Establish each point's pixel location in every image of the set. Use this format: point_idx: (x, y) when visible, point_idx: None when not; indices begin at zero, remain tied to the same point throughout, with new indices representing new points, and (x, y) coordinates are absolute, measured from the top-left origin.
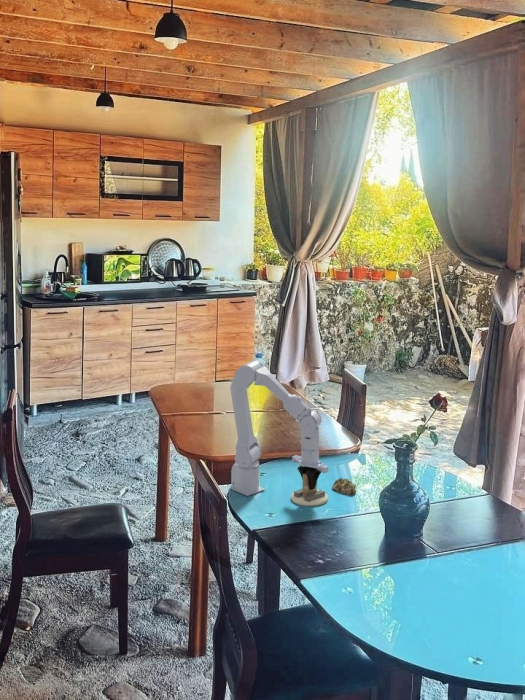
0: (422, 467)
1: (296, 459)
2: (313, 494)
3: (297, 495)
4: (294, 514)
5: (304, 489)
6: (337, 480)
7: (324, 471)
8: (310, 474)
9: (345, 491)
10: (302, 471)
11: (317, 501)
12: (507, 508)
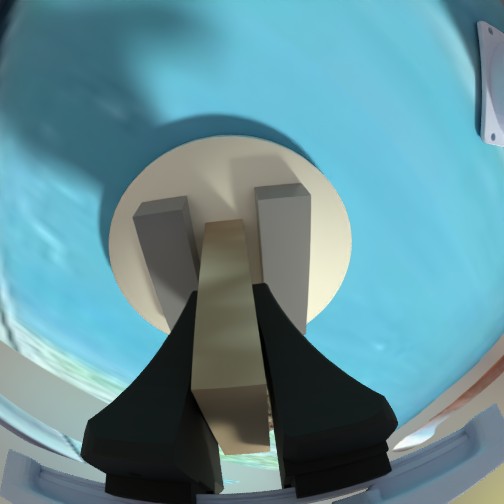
0: (231, 481)
1: (463, 483)
2: (170, 278)
3: (264, 191)
4: (80, 34)
5: (221, 256)
6: (269, 419)
7: (8, 466)
8: (107, 417)
9: None
10: (279, 414)
11: (125, 254)
12: (37, 445)
